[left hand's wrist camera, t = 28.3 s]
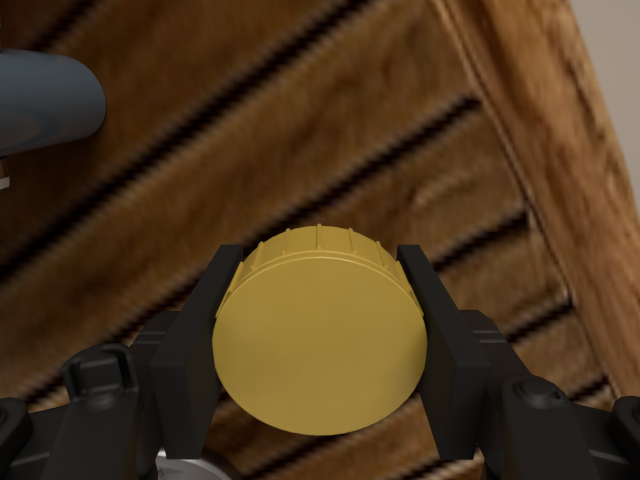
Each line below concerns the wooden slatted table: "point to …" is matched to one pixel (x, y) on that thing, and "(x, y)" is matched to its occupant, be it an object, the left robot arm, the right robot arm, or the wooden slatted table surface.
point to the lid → (319, 332)
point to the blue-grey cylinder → (46, 100)
